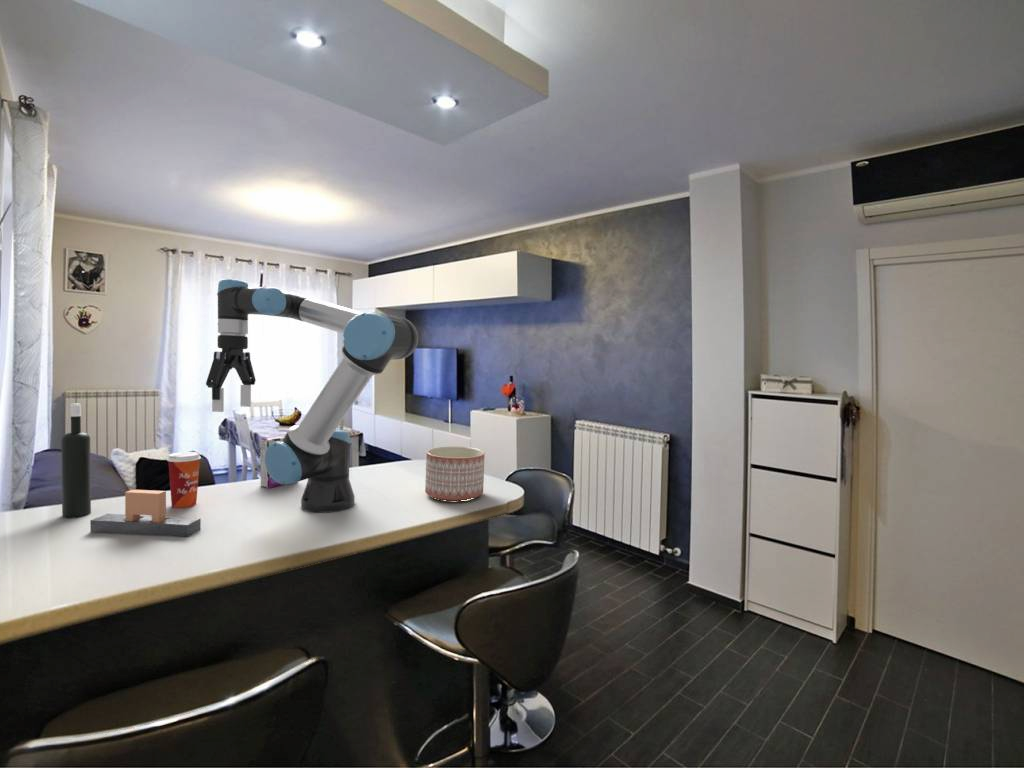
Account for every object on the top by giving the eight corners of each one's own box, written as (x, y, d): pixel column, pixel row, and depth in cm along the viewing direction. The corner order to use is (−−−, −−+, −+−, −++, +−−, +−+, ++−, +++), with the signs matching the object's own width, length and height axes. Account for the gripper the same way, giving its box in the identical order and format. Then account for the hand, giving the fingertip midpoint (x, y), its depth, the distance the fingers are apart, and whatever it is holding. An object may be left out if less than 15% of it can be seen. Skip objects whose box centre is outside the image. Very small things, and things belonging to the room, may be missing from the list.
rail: (200, 529, 126) (200, 518, 125) (187, 537, 121) (187, 524, 120) (107, 525, 126) (107, 513, 126) (90, 532, 121) (90, 520, 121)
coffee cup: (184, 510, 139) (184, 457, 139) (159, 507, 141) (159, 455, 140) (207, 502, 148) (208, 452, 147) (184, 499, 149) (184, 450, 148)
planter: (494, 494, 168) (495, 451, 167) (458, 508, 152) (460, 460, 151) (450, 484, 178) (451, 444, 177) (412, 496, 162) (414, 451, 161)
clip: (165, 530, 124) (165, 491, 124) (158, 533, 122) (158, 493, 121) (133, 528, 125) (132, 489, 124) (125, 532, 122) (125, 492, 122)
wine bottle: (92, 515, 133) (91, 403, 131) (63, 519, 129) (62, 404, 127) (89, 509, 137) (88, 401, 135) (61, 514, 133) (59, 402, 131)
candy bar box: (289, 479, 176) (290, 434, 175) (298, 482, 173) (298, 435, 172) (259, 486, 167) (259, 437, 166) (267, 488, 164) (268, 439, 163)
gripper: (244, 336, 154) (243, 404, 155) (190, 332, 129) (190, 413, 130) (268, 337, 153) (267, 405, 155) (219, 333, 129) (218, 414, 130)
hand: (232, 409), depth 142 cm, fingers open, 13 cm apart
